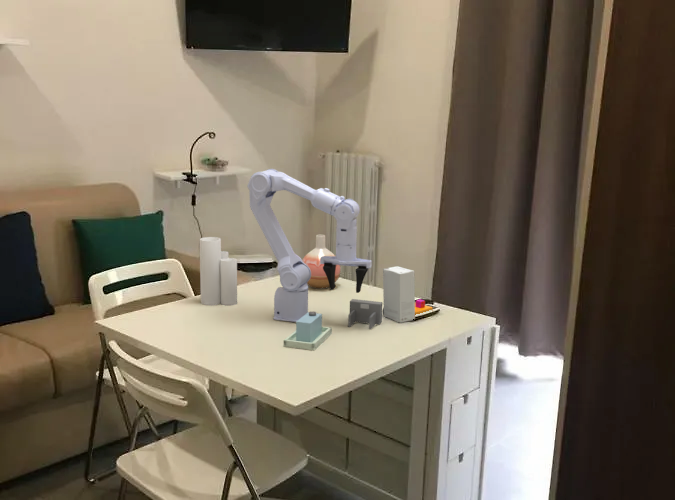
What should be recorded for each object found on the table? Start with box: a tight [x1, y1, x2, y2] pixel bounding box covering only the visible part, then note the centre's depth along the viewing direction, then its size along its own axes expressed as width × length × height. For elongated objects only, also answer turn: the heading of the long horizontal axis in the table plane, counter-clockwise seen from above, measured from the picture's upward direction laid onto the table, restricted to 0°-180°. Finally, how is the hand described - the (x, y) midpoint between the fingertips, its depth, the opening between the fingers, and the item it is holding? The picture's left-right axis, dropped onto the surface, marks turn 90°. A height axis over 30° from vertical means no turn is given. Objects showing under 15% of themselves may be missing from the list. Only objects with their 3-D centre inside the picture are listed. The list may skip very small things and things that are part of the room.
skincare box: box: [382, 265, 416, 323], centre depth 223 cm, size 8×6×15 cm
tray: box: [283, 325, 333, 351], centre depth 204 cm, size 8×14×2 cm, turn 162°
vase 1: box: [199, 236, 238, 306], centre depth 235 cm, size 11×7×20 cm, turn 93°
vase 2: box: [302, 234, 342, 290], centre depth 256 cm, size 14×14×18 cm
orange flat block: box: [415, 298, 433, 315], centre depth 230 cm, size 8×8×4 cm
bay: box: [347, 298, 383, 330], centre depth 217 cm, size 9×8×6 cm
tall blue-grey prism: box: [295, 311, 323, 343], centre depth 204 cm, size 4×9×6 cm, turn 162°
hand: (345, 290), depth 216 cm, fingers open, 7 cm apart
